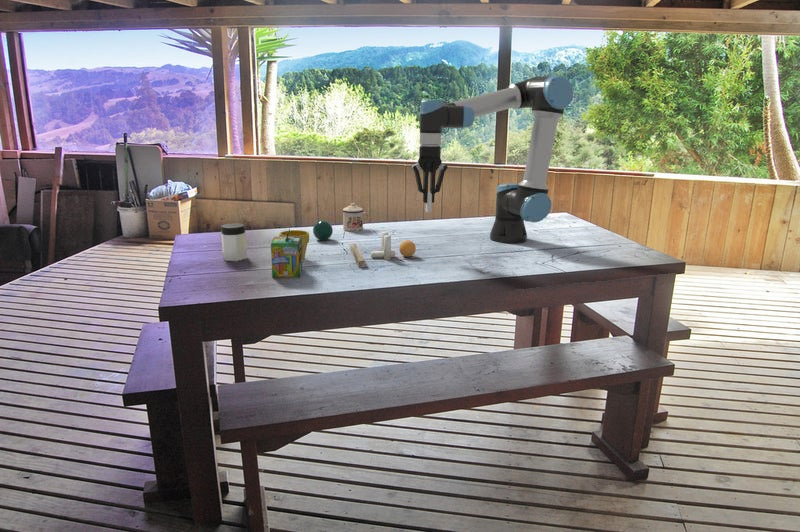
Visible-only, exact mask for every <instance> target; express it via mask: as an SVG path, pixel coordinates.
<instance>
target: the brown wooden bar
mask: <svg viewBox="0 0 800 532" xmlns="http://www.w3.org/2000/svg"><path fill="white" fill-rule="evenodd" d="M349 246H350V252H351V255H352V256H353V258H354V260H355V262H356V264H357V266H358V268H361V267H365V268H366V260H365V258H364V256H363V255H362V252H361V251H360V249H359V247H358V244H357V243H350V245H349ZM361 269H362V268H361Z"/></svg>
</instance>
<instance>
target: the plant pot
mask: <svg viewBox="0 0 800 532" xmlns="http://www.w3.org/2000/svg"><path fill="white" fill-rule="evenodd" d="M287 233H288V230H283V231H280V232H279V233H278V234H279V235H278V237H287ZM288 237H302V260H303V261H304V260H305V258H306V252H307V247H308V244H309V243H310V232H308V231H306V230H301V229H290V231H289V236H288Z"/></svg>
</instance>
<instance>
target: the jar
mask: <svg viewBox="0 0 800 532" xmlns="http://www.w3.org/2000/svg"><path fill="white" fill-rule="evenodd" d="M220 231H221V232H220V237H221V239H220V240H221V251H222V258H223V260H224V261H225V262H240V261H243V259H244V260H247V259H248V248H247V247H248V246H247V244H248V243H247V233H246V226H245V224H244V223H239V222H234V223H233V222H231V223H224V224H222V225H220ZM239 260H240V261H239Z"/></svg>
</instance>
